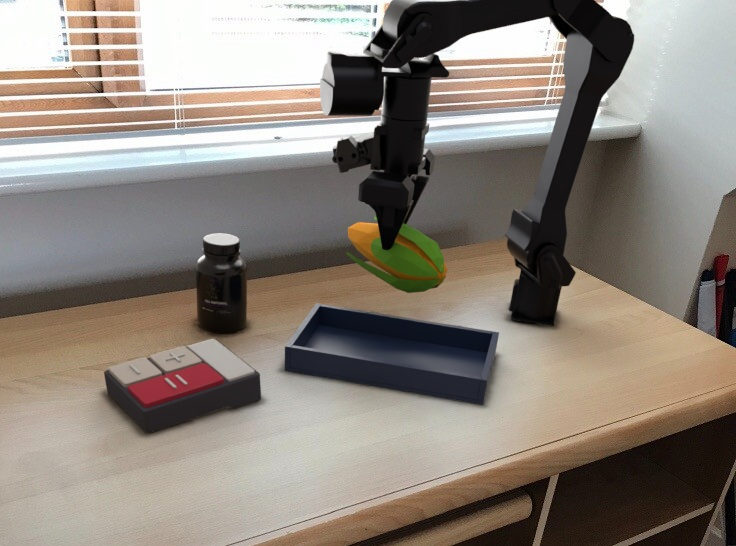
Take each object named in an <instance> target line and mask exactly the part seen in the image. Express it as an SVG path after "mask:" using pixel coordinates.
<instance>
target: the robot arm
mask: <svg viewBox="0 0 736 546" xmlns="http://www.w3.org/2000/svg"><path fill="white" fill-rule="evenodd" d="M545 18H549V20H550V22H551V23H552V25H553V26H554V28H555V29H556V30H557V31H558V32H559V33H560V35H561V36H562V37H564V39H565V40H566V42H565V48H564V55H563V76H564V92H563V95H562V99H561V101H560V105H559V107H558V112H557V114H556V118H555V122H554V125H553V128H552V132H551V135H550V138H549V141H548V144H547V148H546V152H545V155H544V158H543V160H542V165H541V168H540V171H539V174H538V178H537V181H536V185H535V188H534V191H533V195H532V197H531V199H530V200H529V202H528V203H527V204H526V205H525V207H524V208H522V210H521V209H519V208H513V210H512V212H511V216H510V223H509V225H508V228H507V230H506V232H505V233H504V236H505V238H507V242H506V248H507V250H508V253H510V255H511V256H512V257H513V261H514V266H515V267H516V268H518V269H519V270H520V273H519V277H518V278H516V279H514V282H513V286H512V292H511V297H510V303H509V308H508V311H509V312H511V314H510V320H512V321H517V322H523V323H528V324H536V325H540V326H541V325H542V326H547V327H554V326H556V319H557V318H556V317H557V310H558V306H559V301H560V296H561V293H562V288H563V287H569V286H570V285H571V283H572V281H573V279H574V278H575V276H576V273H577V272H576V270H575V269H574V267H572V265H571V263H570V262H569V261H568V259H566V257H565V249H566V244H567V238H568V225H567V213H566V211H567V206H568V203H569V200H570V196H571V193H572V190H573V187H574V184H575V182H576V178H577V174H578V173H579V168H580V166H581V162H582V159H583V155H584V154H585V149H586V147H587V144H588V141H589V138H590V135H591V132H592V129H593V125H594V122H595V119H596V116H597V113H598V110H599V107H600V104H601V102H602V99H603V97H604V96H605V95H606V94H607V93H608V91H609V90H610V89H611V87H612V86H613V85H614V84H616V82H617V81H618V80H619V79H620V76H621V74H622V72H623V70H624V68H625V66H626V64H627V62H628V60H629V58H630V55H631V54H632V51H633V48H634V44H635V34H634V32H633V29H632V26H631V25H630V23H629V22H628V21H627V20H626V19H623V18H621V17H619V16H614V15H612V14H611V13H610V12H609V11H608V10H607V9H606V8H605V7H603V6H602V5H601V4H600V3H598V2H597V0H391V1H390V2H389V4H388V6H387V8H386V9H385V12H384V14H383V18H382V24H381V25H380V26H379V28H378V30H377V31H376V32H375V34H374V35H373V37H372V38H371V39H370V41H369V42H368V43H367V45H366V46H365V48H364V50H363V51H362V53H349V52H347V53H345V52H341V51H338V50H328V52H327V54H326V63H325V64H324V66H323V69H322V76H321V78H320V79H319V99H320V106H321V109H322V112H323V114H324V116H326V117H329V116H330V117H332V116H333V117H336V116H337V117H368V116H369V117H371V116H373V115H374V113H375V111H380V108H381V113H380V122H378V123H377V125H376V126H374V129H373V132H370V133H369V132H368V133H364V134H360V135H357V136H352V135H349V136H348V137H346V138H343V137H342V138H341V137H340V138H339V139H338V140H337V142H336V144H335V145H334V146H333V147H332V154H333V155H332V158H331V160H332V162H333V163H334V164H337V168H338V173H340V174H343V173H348V172H349V171H350V170H352V169H357V168H361V167H365V166H368V165H370V168H369V169H370V171H371V172H370V173H369V174H368V175H367V176H366V177H365V178H364V179H362V181H360V183H359V184H358V196H357V200H358V201H359V202H361V203H364V204H365V205H368V206H369V207H370V208H371V209H372V210H373V211H374V213H375V216H376V217H377V221H376V222H377V224H378V227H379V233H380V239H381V244H382V249H383V250H389V249H391V248H392V246H393V244H394V242H395V240H396V238H397V235H398V233H399V231H400V229H401V227H402V225H403V223H404V224H406V225H408V222H409V220H410V218H411V216H412V214H413V213H414V210H415V208H416V206H417V204H418V202H419V200H420V198H421V196H422V194H423V192H424V190H425V189H426V186H427V185H428V183H429V180H430V177H431V175H432V173H433V172H434V170H435V169H434V168H435V161H436V156H435V155H434V153H433V151H431V149H430V148H426V147H425V143H426V142H425V141H426V135H427V134H428V133H429V131H430V123H429V122H428V114H429V105H430V96H431V85H432V78H439V79H440V78H443V79H445V78H449V76H450V71H449V70H448V69H447V68H446V67H445V65H444V64H443V63H442V61H441V59H440V56H439V55H438V54H437V53H438V52H441V51H443V50H445V49H447V48H450V47H451V46H452V45H454V44H455V43H457V42H458V41H460V40H462V39H463V38H466V37H467V36H470V35H474V34H479V33H483V32H486V31H493V30H496V29H501V28H505V27H511V26H514V25H518V24H523V23H529V22H532V21H537V20H542V19H545ZM422 170H423V171H425V172H424V173H425V175H420V172H421V171H422ZM429 176H430V177H429Z"/></svg>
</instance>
